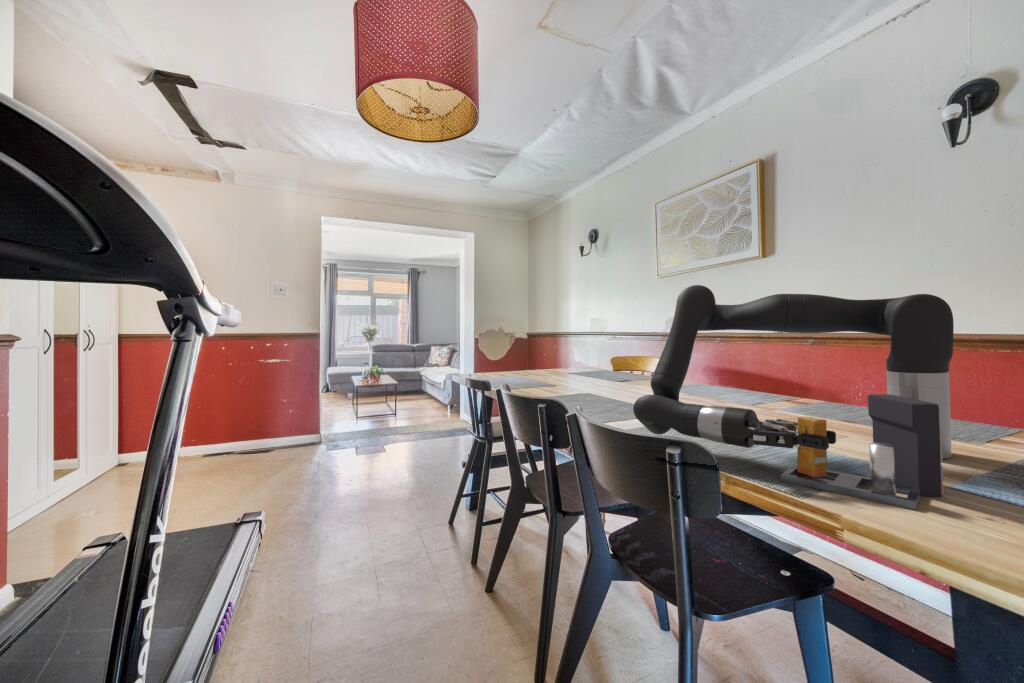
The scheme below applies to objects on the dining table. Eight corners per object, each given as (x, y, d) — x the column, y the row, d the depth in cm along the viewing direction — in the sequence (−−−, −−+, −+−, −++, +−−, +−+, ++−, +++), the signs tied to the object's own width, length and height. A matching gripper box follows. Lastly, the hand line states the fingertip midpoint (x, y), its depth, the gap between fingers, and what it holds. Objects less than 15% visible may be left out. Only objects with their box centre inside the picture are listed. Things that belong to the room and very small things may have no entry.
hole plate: (794, 470, 76) (794, 464, 76) (921, 494, 63) (921, 487, 63) (781, 481, 71) (780, 474, 71) (915, 509, 58) (915, 501, 58)
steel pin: (872, 489, 66) (871, 441, 66) (897, 494, 64) (896, 444, 64) (869, 494, 64) (867, 445, 64) (894, 500, 62) (893, 448, 62)
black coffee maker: (948, 500, 62) (945, 404, 62) (915, 499, 63) (912, 404, 63) (897, 476, 73) (895, 394, 73) (869, 475, 74) (867, 394, 74)
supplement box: (829, 476, 70) (828, 419, 70) (813, 478, 69) (813, 420, 69) (810, 469, 73) (810, 415, 73) (796, 472, 72) (795, 417, 72)
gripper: (711, 412, 77) (820, 425, 64) (740, 402, 86) (841, 412, 73) (712, 450, 77) (821, 472, 64) (741, 437, 87) (842, 453, 73)
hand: (831, 440), depth 69 cm, fingers closed on supplement box, 4 cm apart
